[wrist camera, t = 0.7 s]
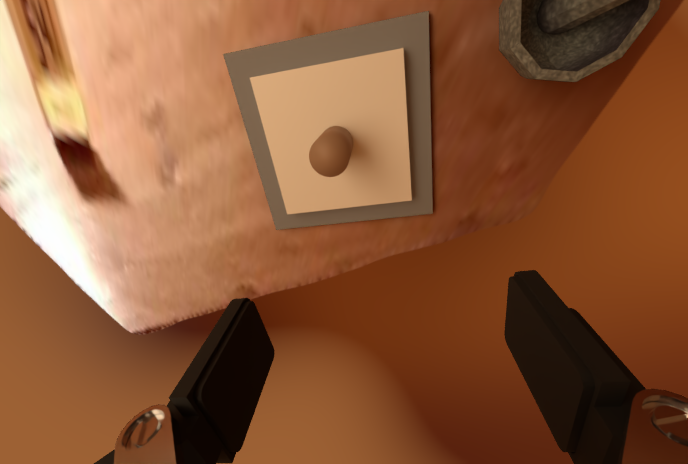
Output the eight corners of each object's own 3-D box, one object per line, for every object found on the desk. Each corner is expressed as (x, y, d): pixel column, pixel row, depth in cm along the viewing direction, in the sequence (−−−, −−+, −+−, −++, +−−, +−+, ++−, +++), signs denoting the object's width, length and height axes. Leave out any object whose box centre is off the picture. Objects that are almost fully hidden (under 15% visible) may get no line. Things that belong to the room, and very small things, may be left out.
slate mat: (225, 54, 29) (223, 54, 29) (427, 12, 26) (428, 10, 26) (277, 227, 38) (276, 229, 38) (431, 211, 35) (432, 213, 35)
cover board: (254, 77, 30) (221, 77, 23) (402, 49, 27) (410, 40, 21) (289, 210, 36) (272, 238, 30) (410, 196, 34) (419, 224, 28)
